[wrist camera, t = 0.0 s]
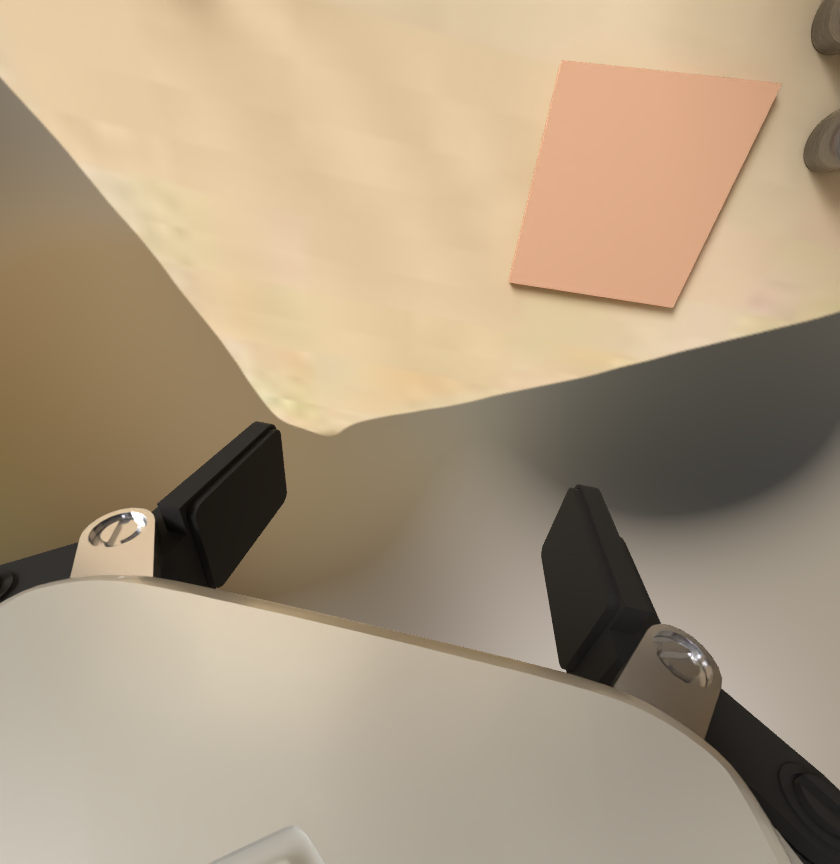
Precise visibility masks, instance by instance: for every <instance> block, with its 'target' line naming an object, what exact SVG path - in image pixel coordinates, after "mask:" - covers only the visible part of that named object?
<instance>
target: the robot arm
mask: <svg viewBox="0 0 840 864" xmlns="http://www.w3.org/2000/svg"><path fill="white" fill-rule="evenodd" d="M286 494H287V491H286V480H285V471H284V461H283V451H282V441H281V433H280V431H279V430H276V427H275V426H274V425H273V424H268V423H263V422H254V423H252V424H251V425H250V426H249V427H248V428H247V429H245V430H244V431H243V432H242V433H241V434H239V435H238V436H237V437H236V438H235V439H233V440H232V441H231V442H230V443H229V444H228V445H226V446H225V447H224V448H223V449H222V450H220V451H219V452H218V453H217V454H216V455H214V456H213V457H212V458H211V459H210V460H209V461H208V462H206V463H205V464H204V465H203V466H201V467H200V468H199V469H198V470H197V471H196V472H195V473H193V474H192V475H191V476H190V477H188V478H187V479H186V480H185V481H184V482H182V483H181V484H180V485H179V486H178V487H177V488H175V489H174V490H173V491H172V492H171V493H169V494H168V495H167V496H166V497H165V498H164V499H162V500H161V501H160V502H159V503H158V504H157V505H158V507H157V508H156V509H155V510H154V511H152V512H150V511H149V510H146V509H142V508H128V509H122V510H118V511H115V512H112V513H109V514H107V515H105V516H102V517H100V518H99V519H97V520H96V521H94V522H93V523H91V524H90V525H89V526H88V527H87V528H86V529H85V530H84V531H83V533H82V535H81V537H80V539H79V542H78V543H74V544H71V545H67V546H65V547H61V548H57V549H54V550H51V551H47V552H44V553H41V554H37V555H34V556H30V557H27V558H23V559H20V560H17V561H13V562H10V563H6V564H3V565H0V864H840V790H839V789H838V788H837V787H835V785H834V784H832V783H831V782H830V781H829V780H828V779H827V778H826V777H825V776H824V775H823V774H822V773H821V772H819V771H818V770H817V769H816V768H815V767H814V766H812V765H811V764H810V763H808V761H806V760H805V759H804V758H803V757H802V756H801V755H799V754H798V753H797V752H796V751H795V750H793V749H792V748H791V747H790V746H789V745H787V744H786V743H785V742H784V741H783V740H782V739H780V738H779V737H778V736H777V735H776V734H774V733H773V732H772V731H771V730H770V729H769V728H767V727H766V726H765V725H764V724H763V723H762V722H760V721H759V720H758V719H757V718H755V717H754V716H753V715H752V714H751V713H750V712H749V711H747V710H746V709H745V708H744V707H743V706H741V705H740V704H739V703H738V702H737V701H735V700H734V699H733V698H732V697H731V696H730V695H728V694H727V693H726V692H725V691H723V689H721V685H722V677H721V674H720V670H719V667H718V666H717V664H716V662H715V661H714V659H713V657H712V656H711V655H710V654H709V652H708V651H707V650H706V649H705V648H704V647H703V645H701V644H700V643H699V642H698V641H697V640H696V639H694V638H693V637H692V636H690V635H689V634H687V633H686V632H684V631H682V630H681V629H678V628H676V627H673V626H671V625H666V624H661V623H660V620H659V618H658V616H657V613H656V611H655V609H654V607H653V604H652V602H651V600H650V598H649V595H648V593H647V591H646V589H645V586H644V584H643V582H642V580H641V578H640V575H639V573H638V571H637V568H636V566H635V564H634V561H633V559H632V557H631V555H630V552H629V550H628V548H627V546H626V543H625V542H624V540H623V539H622V538H621V537H620V536H619V534H618V532H617V529H616V527H615V525H614V522H613V520H612V518H611V515H610V513H609V511H608V508H607V506H606V504H605V501H604V499H603V497H602V495H601V492H600V490H599V489H598V488H595V487H590V486H584V485H580V484H579V485H577V486H576V487H575V488H569V490H568V492H567V494H566V496H565V498H564V500H563V503H562V505H561V507H560V509H559V511H558V513H557V516H556V518H555V520H554V522H553V524H552V527H551V529H550V531H549V534H548V536H547V538H546V540H545V542H544V544H543V547H542V552H541V557H542V564H543V570H544V575H545V582H546V587H547V593H548V599H549V605H550V611H551V617H552V623H553V629H554V635H555V640H556V647H557V653H558V659H559V664H560V666H561V668H562V669H565V670H566V671H567V673H565V672H561V671H556V670H553V669H549V668H545V667H541V666H538V665H534V664H530V663H526V662H522V661H518V660H514V659H511V658H506V657H502V656H498V655H494V654H490V653H486V652H482V651H477V650H473V649H469V648H465V647H461V646H457V645H453V644H448V643H444V642H440V641H436V640H432V639H428V638H423V637H419V636H415V635H411V634H407V633H403V632H398V631H394V630H390V629H386V628H381V627H377V626H373V625H369V624H364V623H360V622H356V621H352V620H348V619H343V618H339V617H334V616H330V615H326V614H322V613H317V612H314V611H309V610H304V609H300V608H296V607H291V606H287V605H283V604H279V603H274V602H270V601H266V600H261V599H257V598H253V597H248V596H244V595H239V594H235V593H231V592H226V591H222V590H217V589H216V587H217V588H219V587H221V586H223V584H224V583H225V582H226V581H227V579H228V578H229V576H230V575H231V574H232V573H233V571H234V570H235V568H236V567H237V566H238V564H239V563H240V561H241V560H242V559H243V558H244V556H245V555H246V553H247V552H248V551H249V549H250V548H251V547H252V545H253V544H254V542H255V541H256V540H257V538H258V537H259V536H260V534H261V533H262V531H263V530H264V529H265V527H266V526H267V525H268V523H269V522H270V521H271V519H272V518H273V517H274V515H275V514H276V512H277V511H278V510H279V508H280V507H281V505H282V504H283V503H284V501H285V498H286Z"/></svg>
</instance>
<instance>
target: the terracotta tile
mask: <svg viewBox="0 0 840 864" xmlns="http://www.w3.org/2000/svg"><path fill="white" fill-rule="evenodd" d="M781 85H782V84H781V83H772V82H763V81H753V80H744V79H734V78H725V77H716V76H706V75H697V74H687V73H678V72H669V71H659V70H650V69H640V68H631V67H622V66H612V65H603V64H593V63H584V62H575V61H565V60H562V62H561V64H560V67H559V71H558V75H557V80H556V84H555V88H554V92H553V96H552V101H551V105H550V109H549V113H548V117H547V122H546V126H545V130H544V134H543V138H542V143H541V147H540V151H539V155H538V159H537V164H536V168H535V172H534V176H533V180H532V185H531V189H530V193H529V197H528V201H527V206H526V210H525V214H524V218H523V222H522V227H521V231H520V235H519V239H518V244H517V248H516V252H515V256H514V260H513V265H512V269H511V273H510V277H509V283H516V284H522V285H529V286H535V287H542V288H548V289H554V290H561V291H567V292H574V293H580V294H587V295H593V296H599V297H606V298H612V299H619V300H625V301H632V302H638V303H644V304H651V305H657V306H664V307H670V308H673V307H674V305H675V303H676V301H677V299H678V297H679V294H680V292H681V290H682V288H683V286H684V284H685V282H686V280H687V278H688V276H689V274H690V272H691V270H692V268H693V266H694V264H695V262H696V260H697V257H698V255H699V253H700V251H701V249H702V247H703V245H704V243H705V241H706V239H707V237H708V235H709V233H710V231H711V229H712V227H713V225H714V223H715V220H716V218H717V216H718V214H719V212H720V210H721V208H722V206H723V204H724V202H725V200H726V198H727V196H728V194H729V192H730V190H731V188H732V186H733V183H734V181H735V179H736V177H737V175H738V173H739V171H740V169H741V167H742V165H743V163H744V161H745V159H746V157H747V155H748V153H749V151H750V149H751V146H752V144H753V142H754V140H755V138H756V136H757V134H758V132H759V130H760V128H761V126H762V124H763V122H764V120H765V118H766V116H767V114H768V112H769V109H770V107H771V105H772V103H773V101H774V99H775V97H776V95H777V93H778V91H779V89H780V87H781Z"/></svg>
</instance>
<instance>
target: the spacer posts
mask: <svg viewBox="0 0 840 864" xmlns="http://www.w3.org/2000/svg"><path fill="white" fill-rule="evenodd" d="M811 38H812V43H813V45H814V47H815V48H816V50H817V51H819V52H820V53H823V54H827V55H831V54H837V53H840V0H824V1H823V2H822V4H821V5H820V7H819V9H818V11H817V13H816V15H815V18H814V21H813V25H812V31H811ZM804 162H805V164H806V166H807V167H808V168H809V169H810V170H812V171H815V172H827V171H834V170H840V109H839V110H837V111H835V112H833V113H832V114H830V115H829V116H827V117H826V118H825V119H824V120H822V121H821V122H820V123H819V124H818V125H817V127H816V128H815V129H814V130H813V132H812V133H811V135H810V136H809V138H808V140H807V142H806V145H805V149H804Z"/></svg>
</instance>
